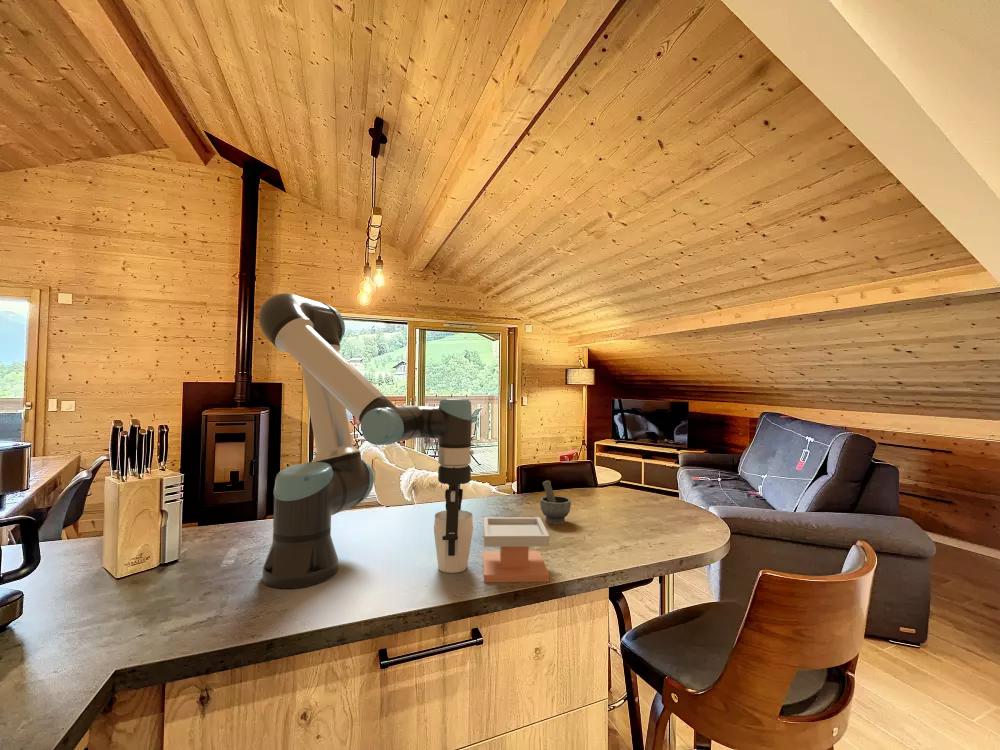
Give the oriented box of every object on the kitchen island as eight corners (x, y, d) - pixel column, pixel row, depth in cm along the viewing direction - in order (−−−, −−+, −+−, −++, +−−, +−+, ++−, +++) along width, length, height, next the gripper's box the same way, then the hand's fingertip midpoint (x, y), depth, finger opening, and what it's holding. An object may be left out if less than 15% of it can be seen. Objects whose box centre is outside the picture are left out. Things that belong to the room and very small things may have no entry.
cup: (466, 577, 96) (467, 522, 97) (427, 573, 98) (428, 518, 98) (476, 561, 105) (477, 511, 105) (440, 558, 107) (441, 508, 107)
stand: (483, 582, 94) (484, 536, 94) (482, 557, 108) (483, 517, 108) (548, 581, 95) (549, 536, 95) (539, 557, 109) (539, 517, 109)
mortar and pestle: (577, 524, 136) (577, 484, 137) (552, 528, 132) (552, 487, 132) (555, 514, 146) (556, 478, 147) (531, 518, 142) (532, 480, 142)
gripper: (470, 475, 90) (468, 580, 89) (471, 456, 115) (469, 539, 114) (433, 475, 90) (431, 580, 89) (442, 456, 115) (440, 539, 114)
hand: (453, 557), depth 102 cm, fingers open, 13 cm apart
